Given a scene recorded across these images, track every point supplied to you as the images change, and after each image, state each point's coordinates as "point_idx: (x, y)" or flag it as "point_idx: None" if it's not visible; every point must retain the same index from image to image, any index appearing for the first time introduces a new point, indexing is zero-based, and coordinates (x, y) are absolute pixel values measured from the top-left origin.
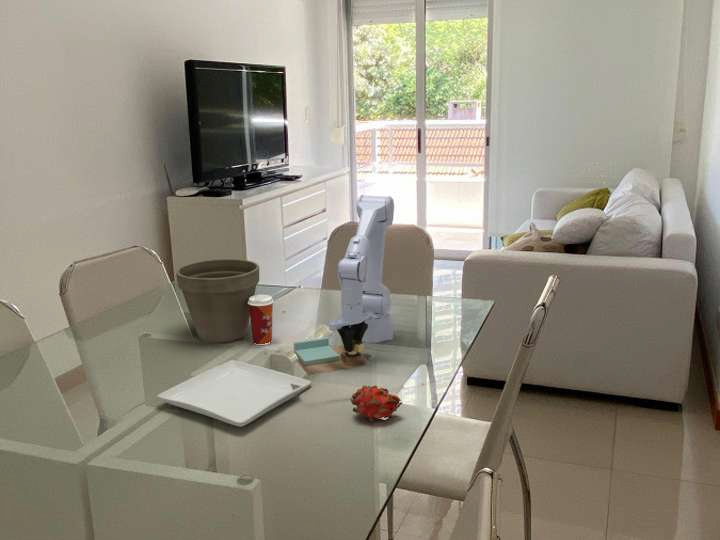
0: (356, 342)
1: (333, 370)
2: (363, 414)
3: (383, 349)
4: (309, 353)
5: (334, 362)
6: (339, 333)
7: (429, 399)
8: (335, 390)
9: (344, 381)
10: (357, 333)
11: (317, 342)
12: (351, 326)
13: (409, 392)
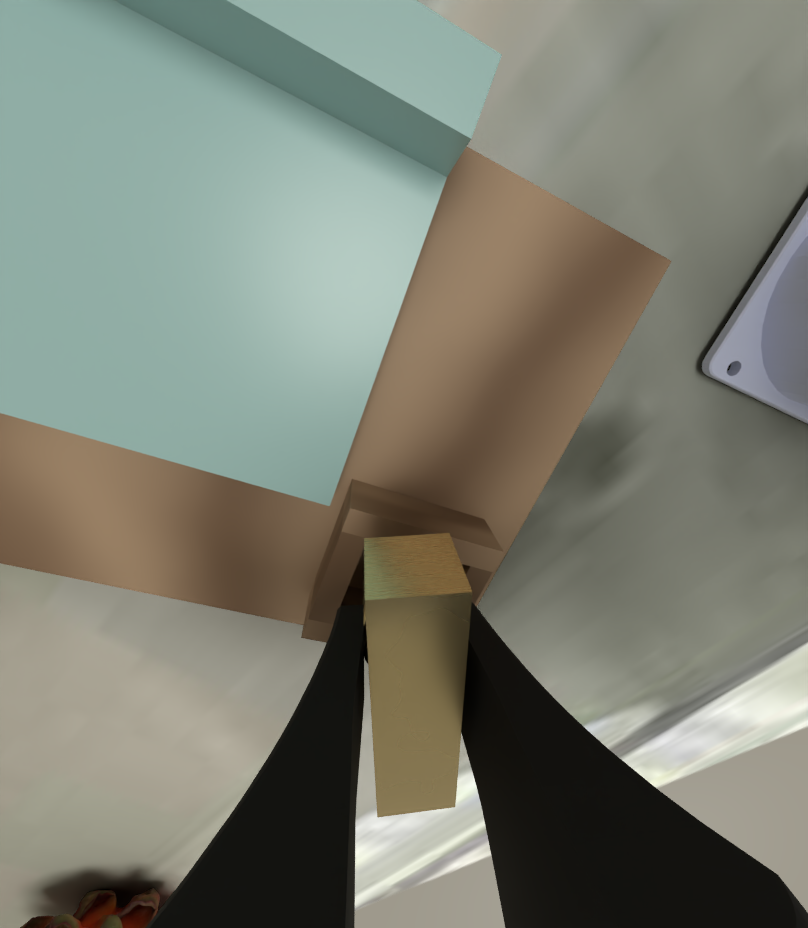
0: (417, 767)
1: (174, 597)
2: (80, 902)
3: (754, 454)
4: (80, 221)
5: (270, 495)
6: (223, 840)
7: (388, 883)
8: (94, 707)
9: (206, 656)
10: (506, 847)
11: (286, 59)
12: (573, 888)
13: (378, 836)
